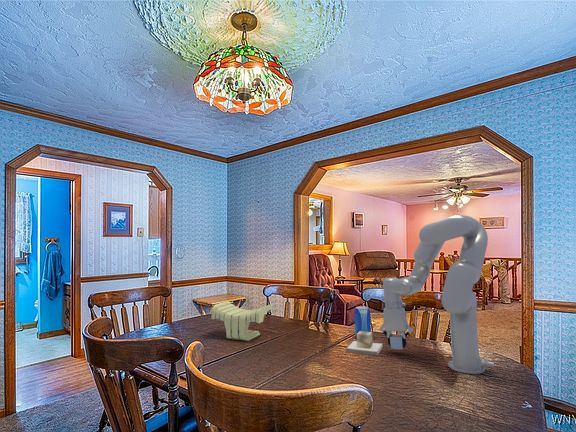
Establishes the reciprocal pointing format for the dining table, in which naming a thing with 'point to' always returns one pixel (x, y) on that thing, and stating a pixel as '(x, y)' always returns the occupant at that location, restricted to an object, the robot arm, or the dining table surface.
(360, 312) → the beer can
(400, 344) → the blue cube
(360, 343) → the maple cube
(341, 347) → the dining table surface
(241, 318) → the slatted curved stool
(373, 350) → the base board
